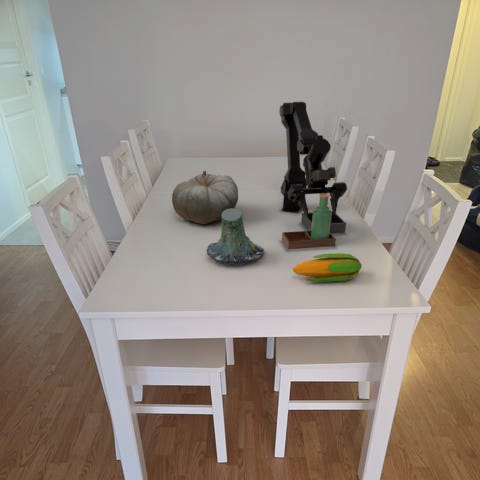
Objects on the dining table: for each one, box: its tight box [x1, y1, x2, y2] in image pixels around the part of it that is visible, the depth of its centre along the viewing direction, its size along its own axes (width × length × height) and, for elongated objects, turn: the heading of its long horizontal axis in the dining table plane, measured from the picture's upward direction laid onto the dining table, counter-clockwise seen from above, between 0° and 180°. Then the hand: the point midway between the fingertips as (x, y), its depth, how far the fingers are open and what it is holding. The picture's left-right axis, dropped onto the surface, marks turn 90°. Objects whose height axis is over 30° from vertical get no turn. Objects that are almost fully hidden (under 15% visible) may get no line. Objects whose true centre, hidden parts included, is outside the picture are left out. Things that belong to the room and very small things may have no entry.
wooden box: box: [281, 230, 337, 250], centre depth 150 cm, size 8×16×3 cm, turn 100°
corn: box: [292, 252, 363, 283], centre depth 128 cm, size 7×8×20 cm
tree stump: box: [206, 207, 265, 266], centre depth 139 cm, size 18×20×18 cm
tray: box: [300, 211, 347, 235], centre depth 161 cm, size 12×12×4 cm
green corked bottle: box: [311, 193, 332, 240], centre depth 146 cm, size 6×6×16 cm
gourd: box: [171, 170, 239, 225], centre depth 166 cm, size 25×25×17 cm
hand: (321, 214), depth 147 cm, fingers open, 9 cm apart
